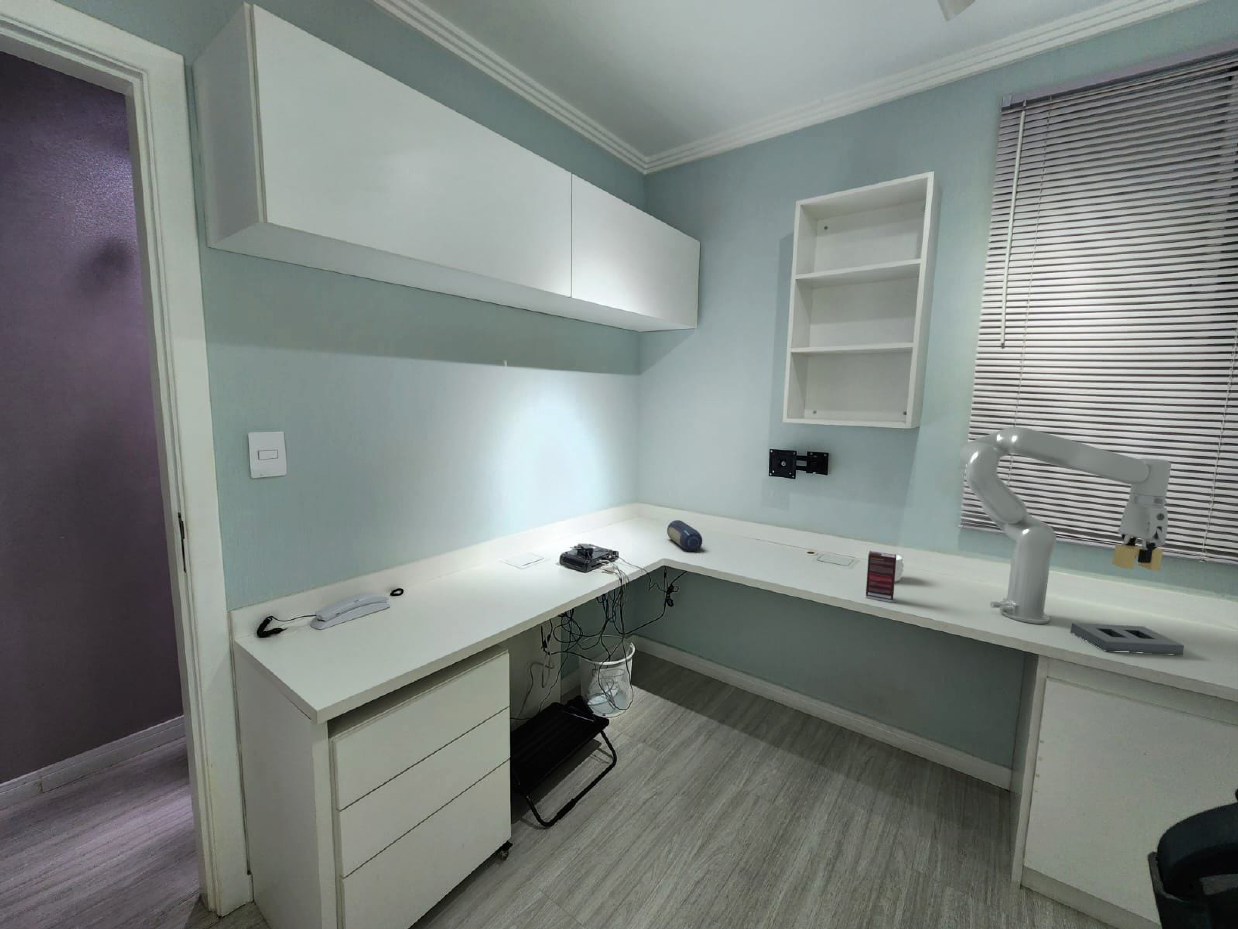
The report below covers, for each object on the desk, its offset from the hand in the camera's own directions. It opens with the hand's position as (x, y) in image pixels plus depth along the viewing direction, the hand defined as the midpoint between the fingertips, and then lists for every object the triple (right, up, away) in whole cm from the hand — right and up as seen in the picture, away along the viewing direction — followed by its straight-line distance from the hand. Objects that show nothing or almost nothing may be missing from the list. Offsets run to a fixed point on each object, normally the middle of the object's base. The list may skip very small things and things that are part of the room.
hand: (1136, 559), depth 155 cm
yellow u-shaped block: (0, -2, 0) cm, 2 cm away
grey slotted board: (-11, -23, -7) cm, 26 cm away
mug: (-53, -16, +43) cm, 70 cm away
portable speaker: (-126, -9, +85) cm, 152 cm away
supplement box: (-65, -18, +24) cm, 72 cm away
